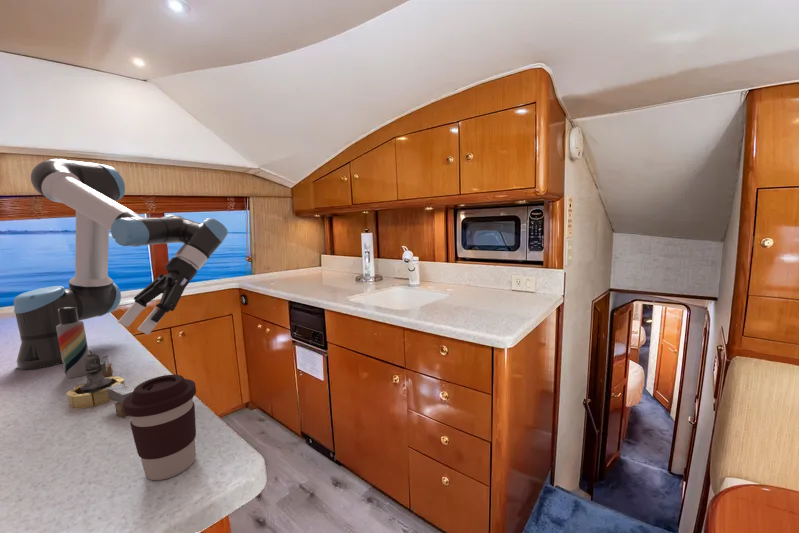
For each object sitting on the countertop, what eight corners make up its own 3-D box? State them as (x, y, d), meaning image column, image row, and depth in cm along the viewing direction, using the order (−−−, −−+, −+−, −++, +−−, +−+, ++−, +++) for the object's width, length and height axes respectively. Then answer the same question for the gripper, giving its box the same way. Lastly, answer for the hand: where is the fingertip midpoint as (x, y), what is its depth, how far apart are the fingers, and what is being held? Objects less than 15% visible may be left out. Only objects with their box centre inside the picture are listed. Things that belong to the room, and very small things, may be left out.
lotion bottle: (60, 377, 99) (48, 308, 96) (85, 368, 104) (73, 304, 101) (72, 379, 96) (59, 310, 94) (96, 371, 102) (84, 304, 99)
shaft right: (107, 410, 79) (103, 388, 78) (126, 402, 82) (122, 382, 81) (123, 419, 75) (120, 396, 74) (142, 410, 78) (139, 389, 77)
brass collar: (65, 401, 84) (62, 389, 83) (115, 384, 92) (114, 373, 92) (77, 412, 78) (75, 400, 78) (130, 393, 86) (128, 382, 86)
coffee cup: (217, 452, 62) (207, 373, 60) (164, 494, 53) (150, 401, 51) (177, 443, 65) (166, 367, 63) (120, 481, 56) (105, 393, 54)
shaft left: (111, 381, 94) (108, 363, 93) (93, 385, 92) (90, 366, 91) (113, 371, 101) (110, 354, 100) (97, 375, 99) (94, 358, 98)
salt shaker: (95, 404, 82) (87, 355, 80) (75, 402, 83) (67, 355, 81) (119, 392, 87) (112, 346, 86) (101, 390, 89) (93, 346, 87)
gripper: (218, 273, 96) (165, 342, 86) (177, 269, 110) (127, 328, 100) (196, 256, 91) (137, 328, 81) (156, 254, 105) (101, 315, 95)
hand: (131, 328), depth 90 cm, fingers open, 13 cm apart
